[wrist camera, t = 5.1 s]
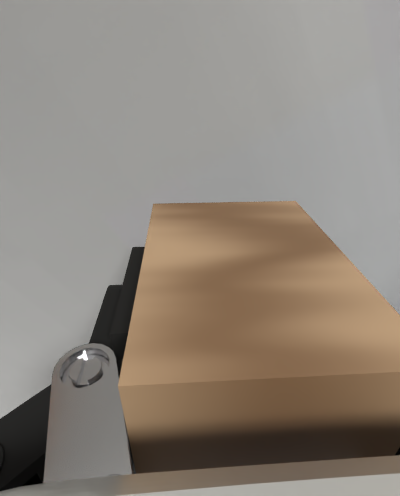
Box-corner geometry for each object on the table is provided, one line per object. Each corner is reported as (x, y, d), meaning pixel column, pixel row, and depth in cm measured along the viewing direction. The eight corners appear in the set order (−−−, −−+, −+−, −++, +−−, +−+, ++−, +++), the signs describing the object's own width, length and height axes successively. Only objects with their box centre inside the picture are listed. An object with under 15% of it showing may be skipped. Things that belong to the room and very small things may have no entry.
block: (295, 201, 11) (449, 368, 5) (276, 309, 13) (360, 509, 7) (153, 203, 10) (117, 385, 4) (161, 313, 13) (147, 525, 7)
